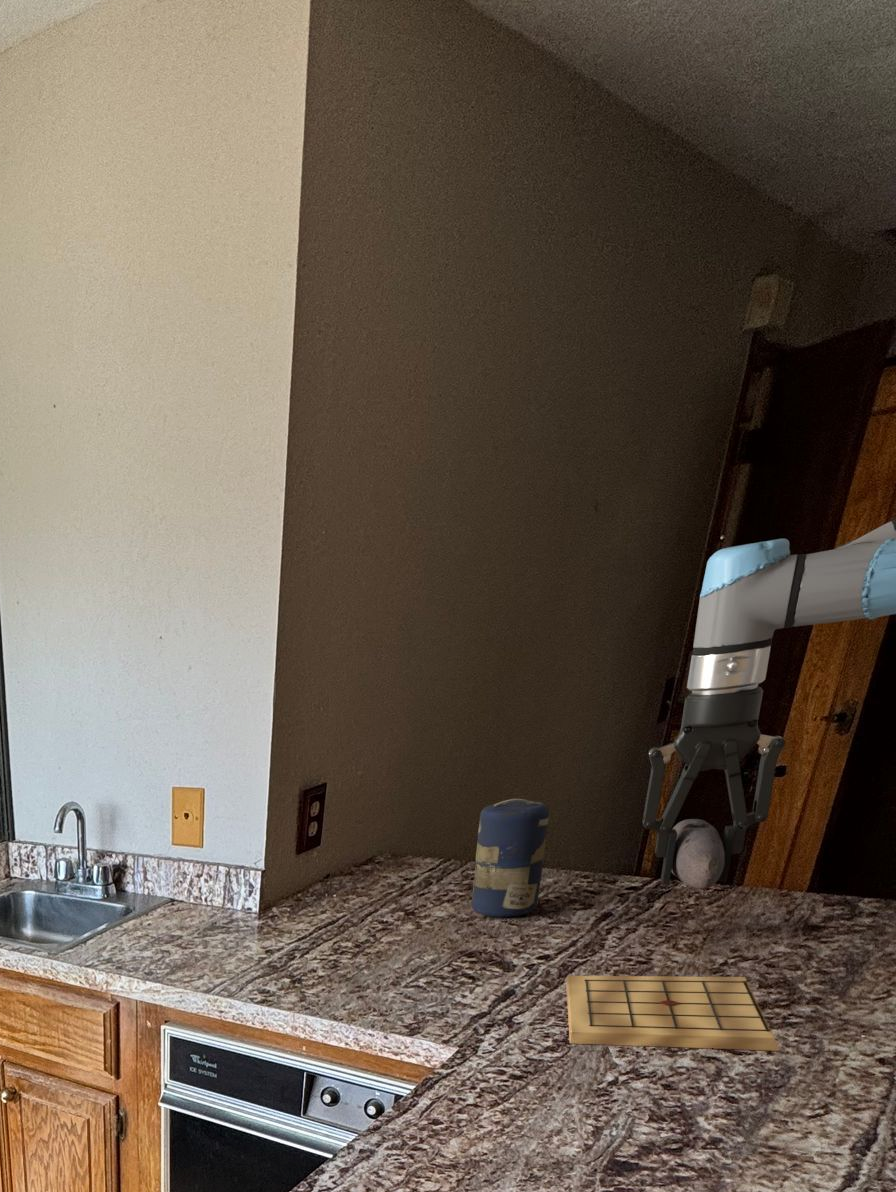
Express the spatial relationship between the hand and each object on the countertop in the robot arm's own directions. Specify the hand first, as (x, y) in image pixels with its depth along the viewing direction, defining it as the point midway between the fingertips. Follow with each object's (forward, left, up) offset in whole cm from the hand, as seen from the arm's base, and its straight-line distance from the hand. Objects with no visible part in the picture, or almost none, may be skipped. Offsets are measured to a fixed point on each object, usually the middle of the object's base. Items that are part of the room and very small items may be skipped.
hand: (692, 880), depth 130 cm
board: (+3, +24, -10) cm, 26 cm away
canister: (+21, -22, -10) cm, 32 cm away
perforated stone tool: (0, 0, 0) cm, 0 cm away
